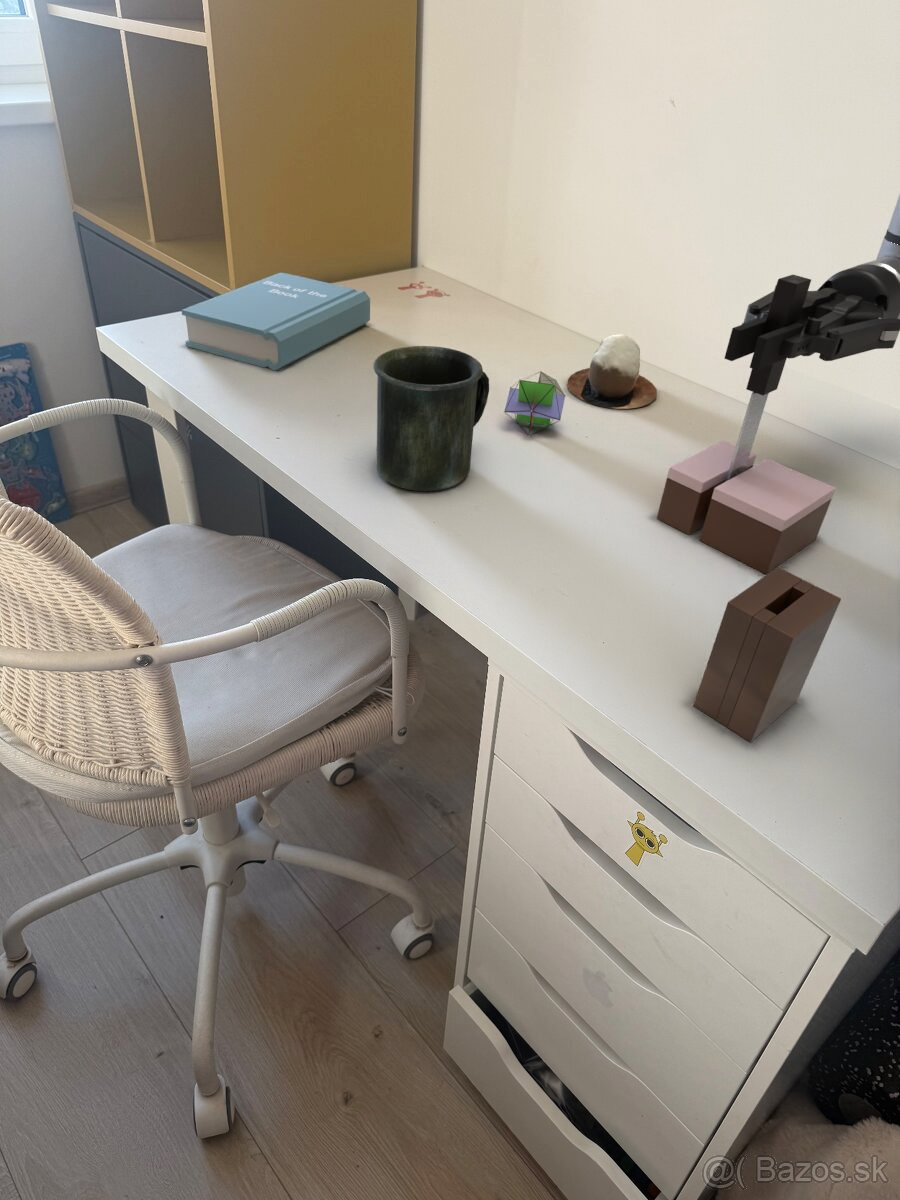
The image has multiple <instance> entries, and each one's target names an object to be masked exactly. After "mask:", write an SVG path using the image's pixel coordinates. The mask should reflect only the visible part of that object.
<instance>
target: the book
mask: <svg viewBox="0 0 900 1200" xmlns="http://www.w3.org/2000/svg"><path fill="white" fill-rule="evenodd" d="M181 315H182V316H185V321H186V329H187V338H188V339H187V340H185V341H184V342H185V346H186V347H189V348H192V349H195V350H199V351H202V352H206V353H210V354H214V355H217V356H220V357H225V358H228V359H231V360H235V361H239V362H243V363H246V364H251V365H254V366H257V367H261V368H267V367H268V368H269V370H271V371H272V370H273V371H275V372H276V371H278V370H280V369H282V368H284V367H286V366H287V365H289V364H292V363H293V362H295V361H297V360H299V359H301V358H303V357H304V356H307V355H309V354H311V353H313V352H315V351H316V350H319V349H320V348H322V347H325V346H327V345H328V344H330V343H332V342H335V340H338V339H340V338H342V337H343V336H346V335H348V334H349V333H351V332H353V331H355V330H357V329H359V328H361V327H363V326H364V325H366V324H367V323H368V322H369V321H370V320H371V297H370V296H369V295H368V294H367V292H366V291H365V290H362V289H359V290H356V289H355V288H352V287H348V286H344V285H340V284H334V283H330V282H325V281H321V280H317V279H313V278H309V277H304V276H300V275H295V274H291V273H287V272H278V273H275V274H273V275H270V276H267V277H264V278H262V279H260V280H257V281H254V282H251V283H249V284H246V285H243V286H242V287H238V288H236V289H233V290H230V291H228V292H225V293H222V294H220V295H217V296H214V297H212V298H209V299H207V300H204V301H201V302H199V303H195V304H193V305H190V306H188V307H185V308H183V309H181Z"/></svg>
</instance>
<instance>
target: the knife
mask: <svg viewBox="0 0 900 1200" xmlns="http://www.w3.org/2000/svg"><path fill="white" fill-rule="evenodd" d="M811 282H812V279H811V278H808V277H804V276H800V275H797V274H790V275H786V276H783V277H780V278H778V279H777V282H776V284H775V286H776V288H775V287H774V289H775V292H774V295H773V299H772V302H771V306H770V309H769V312H768V316H767V319H766V323H765V326H764V330H763V333H762V335H764V334H767V333H770V332H772V331H775V330H778V329H780V328H783V327H786V326H789V325H791V324H794V323H798V321H799V318H800V314H801V311H802V308H803V305H804V302H805V299H806V295H807V292H808V291H809V289H810V285H811ZM787 359H788V358H786V359H783V360H781V361H778V362H776V363H774V364H771V365H769V366H767V367H764V368H762V369H759V370H755V369H752V368H751V371H750V375H749V378H748V381H747V384H746V387H745V390H747V391H749V392H751V395H750V398H749V401H748V404H747V408H746V411H745V414H744V418H743V421H742V424H741V429H740V431H739V434H738V438H737V442H736V445H735V446H736V448H735V452H734V455H733V458H732V462H731V465H730V468H729V472H728V475H727V479H726V481H728V480H730V479H732V478H734V477H736V476H737V475H739V474H741V473H743V472H745V468H746V465H747V462H748V459H749V456H750V452H752V449H753V445H754V443H755V440H756V435H757V433H758V430H759V426H760V423H761V419H762V417H763V413H764V410H765V407H766V403H767V400H768V397H769V394H770V393H773V392H774V391H777V390H778V387H779V384H780V380H781V378H782V375H783V371H784V368H785V365H786V362H787Z"/></svg>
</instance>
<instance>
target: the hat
mask: <svg viewBox="0 0 900 1200" xmlns="http://www.w3.org/2000/svg"><path fill="white" fill-rule="evenodd" d="M640 367H641V349H640V346H639V344H638V343H637V342H636V341H635V339H633V338H632V337H630V336H628V335H626V334H622V333H621V334H612V335H609V336H607V337H606V338H604V339H602V340H601V341H600V343H599V347H597V349H595V351H594V354H593V356H592V358H591V360H590V365H589V367H588V368H582V369H580V370H577V371H575V372H574V373H572V374H570V376H569V377H568V379H567V381H566V382H567V383H566V384H567V388H568V390H570V392H571V393H572V394H573V395H574V396H576V397H577V398H579V399H580V400H581V401H584V402H585V403H588V404H591V405H593V406H597V407H602V408H607V409H608V408H609V409H616V410H617V409H620V410H625V409H628V410H629V409H636V408H641V407H644V406H647V405H649V404H651V403H652V402H654V400H655V399H656V398H657V395H658V390H657V387H656V386H655V385H654V384H653V382H651V381H650V380H649V379H648V378H646V376H642V375H641V374H640V369H641V368H640Z"/></svg>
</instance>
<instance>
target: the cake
mask: <svg viewBox="0 0 900 1200" xmlns="http://www.w3.org/2000/svg"><path fill="white" fill-rule="evenodd" d="M836 489H837V488H836V486H835V487H834V486H832V485H831V484H827V483H825V482H823V481H821V480H818V479H816V478H813V477H812V476H811V477H810V476H809V475H807V474H804V473H802V472H799V471H796V470H794V469H792V468H790V467H787V466H785V465H783V464H781V463H778V462H775V461H773V460H771V459H769V458H766V459H764V460H763V461H761V462H759V463H757V464H756V465H753V467H752V468H750V469H748V470H746V471H745V472H743V473H741V474H739V475H737V476H736V477H734V478H732V479H730V480H728V481H726V482H725V483H723V484H721V485H719V486H717V487H715V488H714V492H713V495H712V499H711V502H710V505H709V509H708V512H707V516H706V519H705V523H704V526H703V527H702V528H701V529H702V530H701V533H700V536H699V542H702V543H704V544H706V545H707V546H709V547H711V548H714V549H715V550H717V551H720V552H722V553H723V554H726V555H727V556H729V557H731V558H733V559H735V560H737V561H739V562H741V563H743V564H745V565H746V566H749V567H751V568H753V569H755V570H757V571H759V572H760V573H763V574H764V575H767V574H769V573H770V572H772V571H773V570H774V569H776V568H777V567H779V566H780V565H781V564H783V563H784V562H786V561H787V560H789V559H790V558H791V557H793V556H794V555H796V554H797V553H799V552H800V551H802V550H803V549H805V548H806V547H807V546H809V545H810V544H811V543H813V542H814V541H816V540H817V537H818V535H819V532H820V530H821V528H822V526H823V523H824V519H825V517H826V514H827V512H828V510H829V507H830V505H831V502H832V499H833V497H834V494H835V492H836Z"/></svg>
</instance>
